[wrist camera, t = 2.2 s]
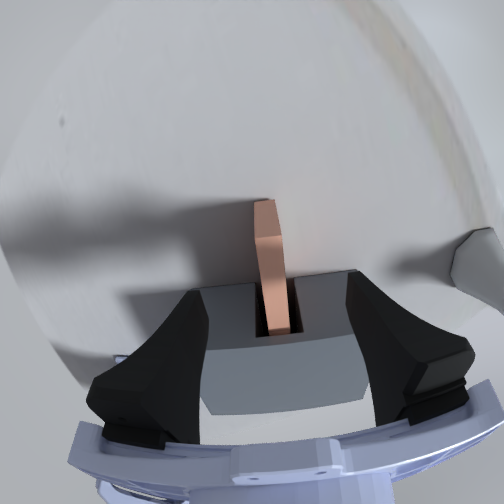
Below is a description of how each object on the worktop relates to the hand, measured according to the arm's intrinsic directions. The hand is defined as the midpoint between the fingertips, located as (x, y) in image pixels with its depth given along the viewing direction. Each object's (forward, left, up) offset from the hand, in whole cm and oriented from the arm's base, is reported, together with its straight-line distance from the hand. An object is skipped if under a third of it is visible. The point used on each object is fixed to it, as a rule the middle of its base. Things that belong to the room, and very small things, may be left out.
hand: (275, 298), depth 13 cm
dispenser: (0, -10, -8) cm, 13 cm away
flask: (+21, -6, -8) cm, 23 cm away
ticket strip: (0, -6, -8) cm, 10 cm away
